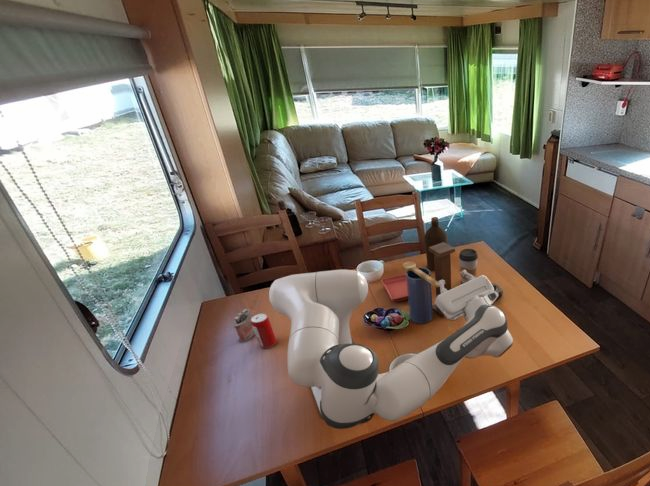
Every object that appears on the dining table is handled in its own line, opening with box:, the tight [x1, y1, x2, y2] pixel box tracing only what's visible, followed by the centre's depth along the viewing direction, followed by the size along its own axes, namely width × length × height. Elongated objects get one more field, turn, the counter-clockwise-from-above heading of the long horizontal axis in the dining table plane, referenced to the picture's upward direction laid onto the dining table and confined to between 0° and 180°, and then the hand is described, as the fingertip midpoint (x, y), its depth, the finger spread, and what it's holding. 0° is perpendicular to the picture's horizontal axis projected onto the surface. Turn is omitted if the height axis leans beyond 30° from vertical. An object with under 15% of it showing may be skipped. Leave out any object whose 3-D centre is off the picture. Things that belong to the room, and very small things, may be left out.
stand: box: [429, 242, 456, 318], centre depth 148 cm, size 8×8×28 cm
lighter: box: [232, 308, 256, 343], centre depth 139 cm, size 8×3×10 cm, turn 168°
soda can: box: [251, 313, 277, 349], centre depth 134 cm, size 6×6×12 cm
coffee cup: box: [458, 248, 479, 284], centre depth 170 cm, size 8×8×15 cm
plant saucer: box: [381, 273, 433, 303], centre depth 167 cm, size 18×18×3 cm
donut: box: [491, 282, 504, 302], centre depth 163 cm, size 12×12×4 cm
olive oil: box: [423, 216, 448, 272], centre depth 179 cm, size 11×11×25 cm
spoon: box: [402, 261, 440, 288], centre depth 139 cm, size 21×5×1 cm, turn 41°
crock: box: [405, 266, 434, 325], centre depth 146 cm, size 9×9×20 cm
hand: (451, 276), depth 124 cm, fingers open, 8 cm apart
